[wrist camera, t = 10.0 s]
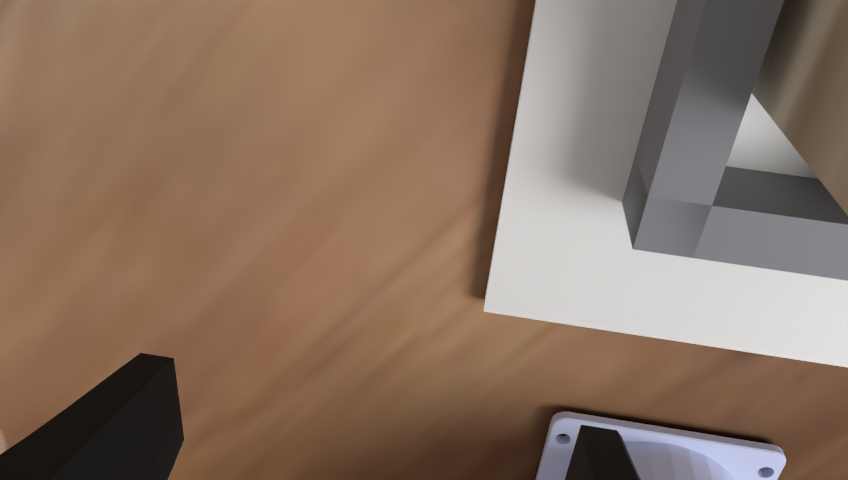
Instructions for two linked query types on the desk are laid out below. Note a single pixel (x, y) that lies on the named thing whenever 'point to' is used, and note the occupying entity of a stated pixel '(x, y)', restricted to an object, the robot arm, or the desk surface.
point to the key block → (811, 87)
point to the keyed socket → (665, 186)
